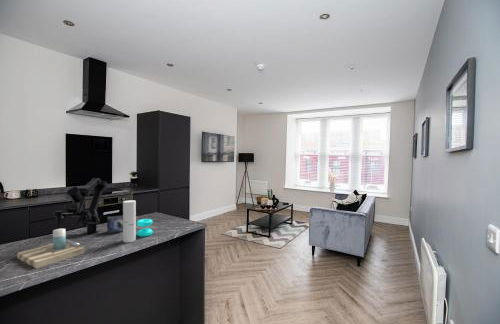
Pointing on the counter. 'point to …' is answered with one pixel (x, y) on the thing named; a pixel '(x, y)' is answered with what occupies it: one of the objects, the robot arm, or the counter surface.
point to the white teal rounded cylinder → (59, 240)
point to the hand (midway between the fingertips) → (67, 227)
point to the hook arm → (72, 243)
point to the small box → (114, 224)
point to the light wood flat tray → (47, 255)
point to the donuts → (145, 231)
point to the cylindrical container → (129, 221)
